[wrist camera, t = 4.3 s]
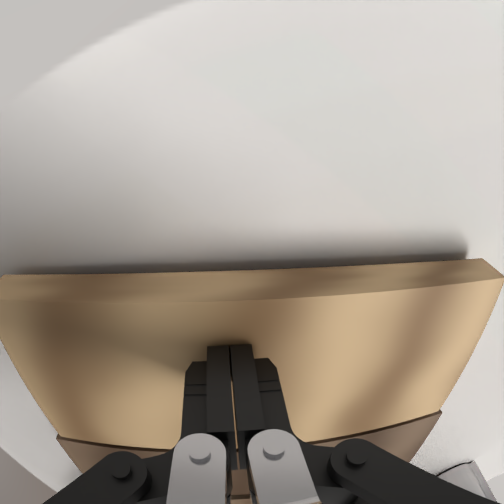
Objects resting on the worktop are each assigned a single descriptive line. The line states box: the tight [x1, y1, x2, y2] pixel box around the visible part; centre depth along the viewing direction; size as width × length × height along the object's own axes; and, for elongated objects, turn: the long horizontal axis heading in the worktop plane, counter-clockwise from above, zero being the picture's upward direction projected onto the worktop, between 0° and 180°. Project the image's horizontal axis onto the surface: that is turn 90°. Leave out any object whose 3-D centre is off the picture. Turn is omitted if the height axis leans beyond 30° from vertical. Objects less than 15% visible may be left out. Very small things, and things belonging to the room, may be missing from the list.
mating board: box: [56, 410, 442, 495], centre depth 16 cm, size 22×6×2 cm, turn 90°
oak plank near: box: [0, 258, 504, 449], centre depth 12 cm, size 21×9×2 cm, turn 90°
